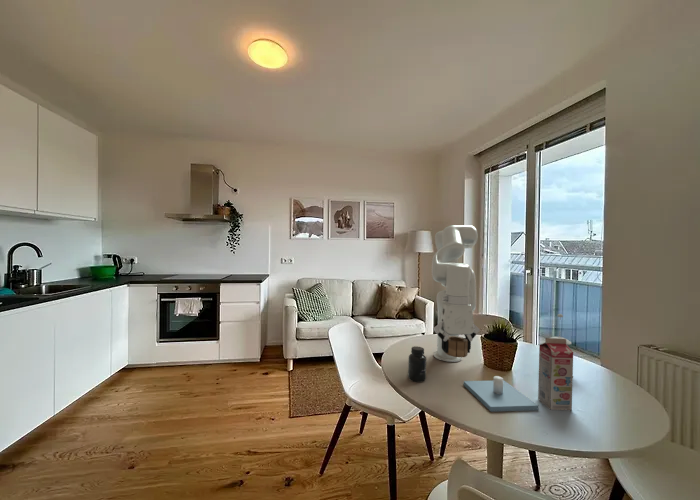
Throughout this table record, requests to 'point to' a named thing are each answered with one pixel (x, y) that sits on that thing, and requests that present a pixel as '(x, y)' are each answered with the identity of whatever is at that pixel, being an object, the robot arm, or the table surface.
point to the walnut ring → (457, 346)
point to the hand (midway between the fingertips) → (456, 351)
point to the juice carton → (555, 374)
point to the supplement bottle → (417, 365)
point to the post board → (499, 395)
